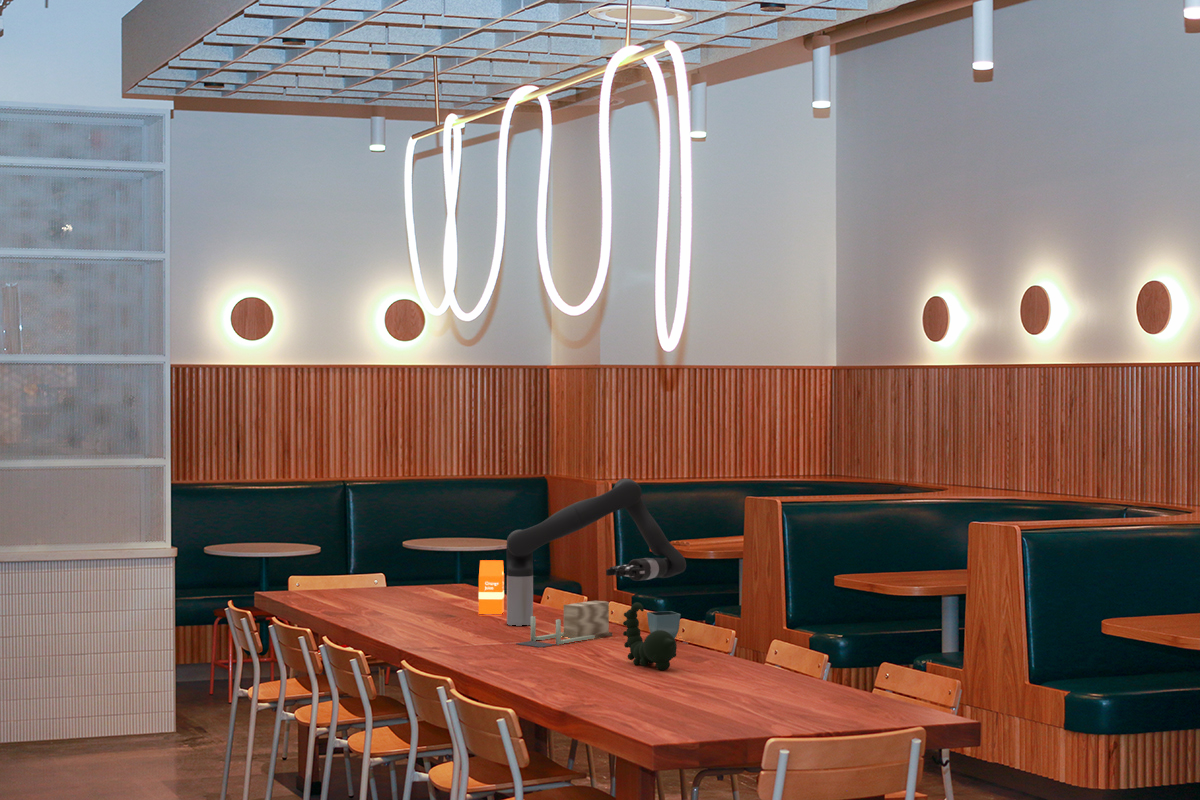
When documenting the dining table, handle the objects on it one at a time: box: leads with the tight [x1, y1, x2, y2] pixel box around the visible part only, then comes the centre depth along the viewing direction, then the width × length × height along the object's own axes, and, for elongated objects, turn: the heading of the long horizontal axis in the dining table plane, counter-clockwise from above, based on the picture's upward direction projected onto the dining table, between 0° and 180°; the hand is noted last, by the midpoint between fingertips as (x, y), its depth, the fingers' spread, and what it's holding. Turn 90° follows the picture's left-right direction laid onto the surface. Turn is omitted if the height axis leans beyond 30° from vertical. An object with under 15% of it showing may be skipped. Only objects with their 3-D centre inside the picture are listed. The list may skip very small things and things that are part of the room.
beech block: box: [563, 600, 610, 638], centre depth 455 cm, size 16×6×11 cm, turn 140°
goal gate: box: [530, 615, 595, 646], centre depth 446 cm, size 18×13×8 cm
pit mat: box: [515, 640, 557, 648], centre depth 436 cm, size 7×11×1 cm, turn 50°
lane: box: [594, 631, 613, 639], centre depth 456 cm, size 9×13×1 cm
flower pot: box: [646, 610, 681, 640], centre depth 446 cm, size 9×9×9 cm
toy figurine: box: [622, 602, 678, 671], centre depth 397 cm, size 9×19×25 cm
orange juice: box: [478, 559, 505, 615], centre depth 511 cm, size 8×9×20 cm
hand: (611, 572), depth 466 cm, fingers open, 3 cm apart
